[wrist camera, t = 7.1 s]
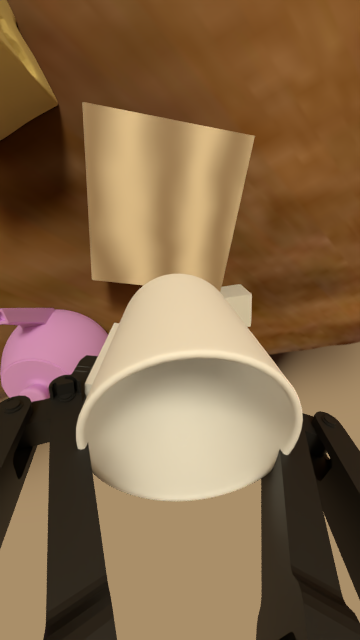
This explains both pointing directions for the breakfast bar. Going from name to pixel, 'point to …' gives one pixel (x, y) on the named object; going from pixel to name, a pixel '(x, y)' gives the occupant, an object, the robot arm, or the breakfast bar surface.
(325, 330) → the breakfast bar surface
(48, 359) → the teapot
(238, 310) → the beige block
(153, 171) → the oak block
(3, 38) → the cheese
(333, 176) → the breakfast bar surface
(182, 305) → the mug
